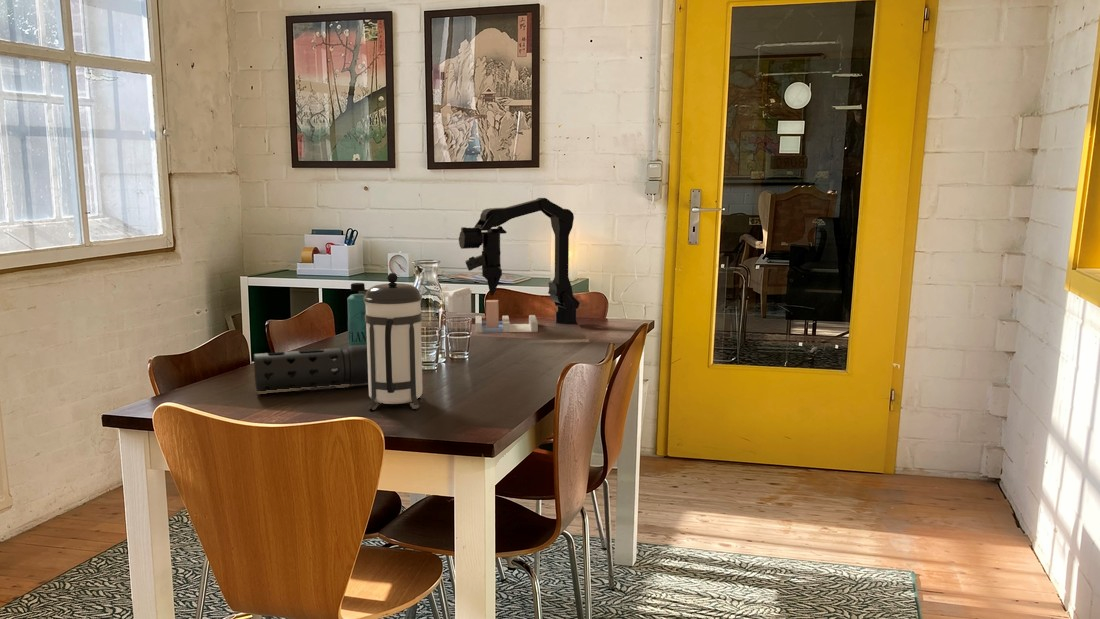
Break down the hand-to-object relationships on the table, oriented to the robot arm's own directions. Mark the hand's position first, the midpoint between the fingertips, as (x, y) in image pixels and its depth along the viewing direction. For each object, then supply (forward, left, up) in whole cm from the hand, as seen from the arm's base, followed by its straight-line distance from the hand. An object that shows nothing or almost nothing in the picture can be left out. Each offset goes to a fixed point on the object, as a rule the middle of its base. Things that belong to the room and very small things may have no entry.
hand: (491, 295), depth 281 cm
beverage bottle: (+39, +27, -12) cm, 49 cm away
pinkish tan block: (0, 0, -11) cm, 11 cm away
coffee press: (+23, +89, -12) cm, 93 cm away
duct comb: (-5, 0, -12) cm, 13 cm away
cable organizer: (+14, -21, -12) cm, 28 cm away
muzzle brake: (+43, +73, -12) cm, 86 cm away
